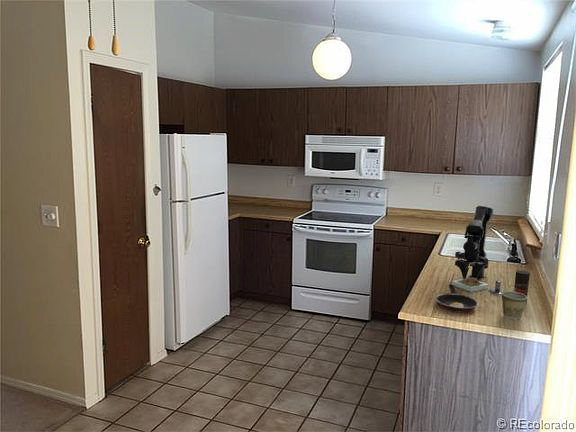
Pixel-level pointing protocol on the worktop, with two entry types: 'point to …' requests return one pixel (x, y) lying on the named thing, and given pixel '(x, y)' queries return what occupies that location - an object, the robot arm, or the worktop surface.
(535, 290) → the worktop surface
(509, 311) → the ceramic cup
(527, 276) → the deodorant
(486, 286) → the tray
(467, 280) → the ring
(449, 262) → the worktop surface
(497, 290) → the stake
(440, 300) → the frying pan
